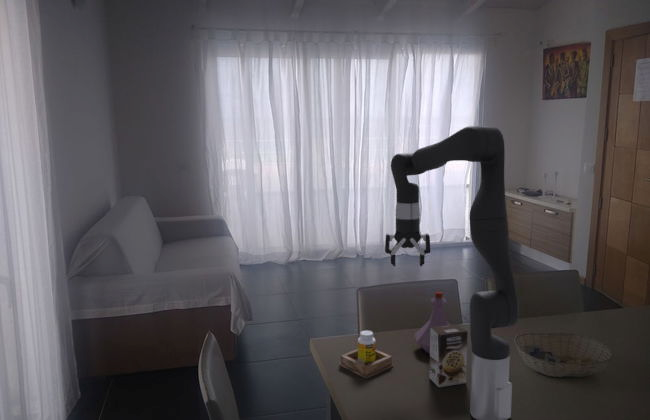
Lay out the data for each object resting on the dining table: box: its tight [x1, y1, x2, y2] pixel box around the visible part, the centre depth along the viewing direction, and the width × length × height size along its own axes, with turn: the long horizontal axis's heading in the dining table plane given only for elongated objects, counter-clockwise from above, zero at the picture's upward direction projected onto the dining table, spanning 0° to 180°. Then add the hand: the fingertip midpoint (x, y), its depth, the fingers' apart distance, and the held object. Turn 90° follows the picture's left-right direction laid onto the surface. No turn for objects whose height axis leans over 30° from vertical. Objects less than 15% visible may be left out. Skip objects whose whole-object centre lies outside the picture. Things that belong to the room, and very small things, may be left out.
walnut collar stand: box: [339, 348, 394, 380], centre depth 161 cm, size 12×12×3 cm
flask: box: [413, 291, 451, 354], centre depth 170 cm, size 16×16×20 cm
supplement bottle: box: [357, 330, 377, 365], centre depth 160 cm, size 6×6×10 cm
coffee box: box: [428, 324, 469, 388], centre depth 149 cm, size 9×6×16 cm
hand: (407, 265), depth 164 cm, fingers open, 8 cm apart
